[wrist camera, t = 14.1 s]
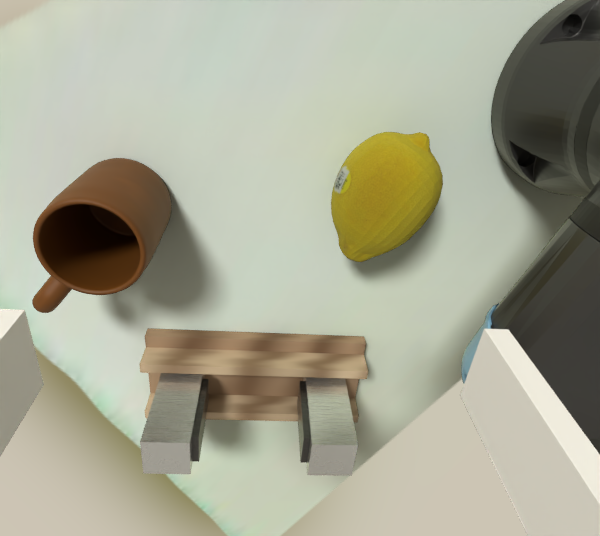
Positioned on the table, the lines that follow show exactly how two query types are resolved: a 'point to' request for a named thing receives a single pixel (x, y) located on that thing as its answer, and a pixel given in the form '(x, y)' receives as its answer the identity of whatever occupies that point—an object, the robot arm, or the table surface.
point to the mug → (100, 231)
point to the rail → (253, 368)
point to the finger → (326, 426)
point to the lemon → (384, 193)
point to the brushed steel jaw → (175, 424)
